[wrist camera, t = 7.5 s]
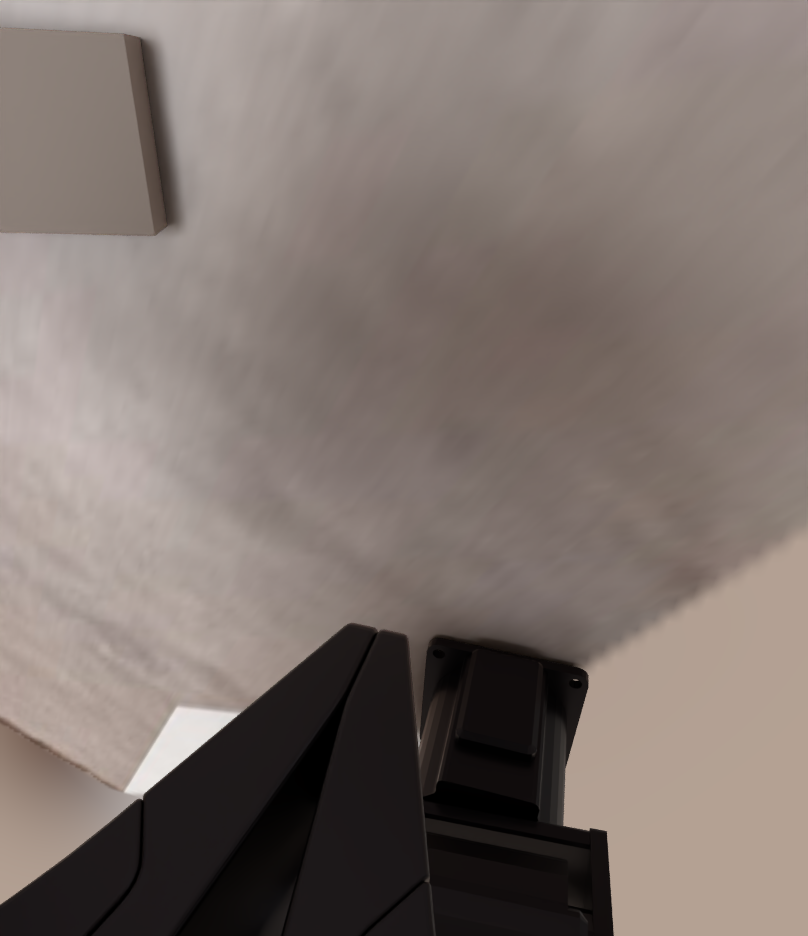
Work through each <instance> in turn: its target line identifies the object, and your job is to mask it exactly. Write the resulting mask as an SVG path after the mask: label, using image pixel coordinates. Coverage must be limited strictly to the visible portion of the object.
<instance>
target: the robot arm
mask: <svg viewBox="0 0 808 936" xmlns="http://www.w3.org/2000/svg"><path fill="white" fill-rule="evenodd" d="M437 649H439V650H442V651H438V650H437ZM573 679H577V680H579V681H574V680H573ZM587 690H588V674H587V672H586V671H584V670H583V669H581V668H578V667H573V666H568V665H564V664H559V663H554V662H550V661H545V660H540V659H536V658H531V657H527V656H522V655H517V654H513V653H508V652H503V651H499V650H494V649H489V648H485V647H480V646H475V645H471V644H466V643H461V642H457V641H452V640H447V639H443V638H435V639H432V640H431V641H430V643H429V646H428V649H427V656H426V668H425V680H424V692H423V704H422V716H421V728H420V739H421V742H420V746H419V750H418V740H417V729H416V718H415V707H414V696H413V684H412V673H411V662H410V651H409V641H408V637H407V635H405V634H402V633H398V632H393V631H388V630H380V631H379V632H378V631H377V629H376V628H374V627H370V626H365V625H361V624H356V623H350V624H347V625H346V626H344V627H343V628H342V629H341V630H340V631H338V632H337V633H336V634H335V635H334V636H332V637H331V638H330V639H329V640H328V641H326V642H325V643H324V644H323V645H322V646H320V647H319V648H318V649H317V650H316V651H314V652H313V653H312V654H311V655H310V656H308V657H307V658H306V659H305V660H304V661H302V662H301V663H300V664H299V665H298V666H296V667H295V668H294V669H293V670H292V671H290V672H289V673H288V674H287V675H286V676H284V677H283V678H282V679H281V680H280V681H278V682H277V683H276V684H275V685H274V686H273V687H271V688H270V689H269V690H268V691H267V692H265V693H264V694H263V695H262V696H261V697H259V698H258V699H257V700H256V701H255V702H253V703H252V704H251V705H250V706H249V707H247V708H246V709H245V710H244V711H243V712H241V713H240V714H239V715H238V716H237V717H235V718H234V719H233V720H232V721H231V722H229V723H228V724H227V725H226V726H225V727H223V728H222V729H221V730H220V731H219V732H217V733H216V734H215V735H214V736H213V737H211V738H210V739H209V740H208V741H207V742H206V743H204V744H203V745H202V746H201V747H200V748H198V749H197V750H196V751H195V752H194V753H192V754H191V755H190V756H189V757H188V758H186V759H185V760H184V761H183V762H182V763H180V764H179V765H178V766H177V767H176V768H174V769H173V770H172V771H171V772H170V773H168V774H167V775H166V776H165V777H164V778H162V779H161V780H160V781H159V782H158V783H156V784H155V785H154V786H153V787H152V788H150V789H149V790H148V791H147V792H146V793H145V794H144V796H143V800H142V799H137V800H136V801H134V802H133V803H132V804H131V805H130V806H129V807H127V808H126V809H125V810H124V811H123V812H121V813H120V814H119V815H118V816H117V817H115V818H114V819H113V820H112V821H111V822H109V823H108V824H107V825H106V826H104V827H103V828H102V829H101V830H100V831H98V832H97V833H96V834H94V835H93V836H92V837H91V838H89V839H88V840H87V841H86V842H84V843H83V844H82V845H81V846H79V847H78V848H77V849H76V850H74V851H73V852H72V853H71V854H69V855H68V856H67V857H65V858H64V859H63V860H61V861H60V862H59V863H57V864H56V865H55V866H53V867H52V868H51V869H49V870H48V871H46V872H45V873H44V874H42V875H41V876H40V877H38V878H37V879H36V880H34V881H33V882H31V883H30V884H28V885H27V886H26V887H24V888H23V889H22V890H20V891H19V892H18V893H16V894H15V895H13V896H12V897H11V898H9V899H8V900H6V901H5V902H3V903H2V904H1V905H0V936H614V935H613V918H612V904H611V888H610V873H609V859H608V843H607V831H603V830H598V829H592V828H590V831H587V830H582V829H576V828H570V827H566V826H563V815H564V788H565V768H566V764H567V761H568V758H569V754H570V750H571V747H572V743H573V739H574V736H575V732H576V728H577V725H578V722H579V718H580V715H581V711H582V707H583V704H584V701H585V697H586V693H587Z"/></svg>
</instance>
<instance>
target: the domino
mask: <svg viewBox="0 0 808 936" xmlns="http://www.w3.org/2000/svg"><path fill="white" fill-rule="evenodd" d="M166 226H167V221H166V214H165V207H164V200H163V193H162V186H161V179H160V172H159V165H158V158H157V152H156V145H155V138H154V131H153V124H152V117H151V110H150V103H149V96H148V89H147V83H146V76H145V69H144V62H143V55H142V48H141V41H140V37H135V36H131V35H126V34H116V33H96V32H77V31H57V30H38V29H18V28H0V232H5V233H49V234H93V235H137V236H155V235H157V234H158V233H159V232H160V231H161V230H163V229H164V228H165V227H166Z"/></svg>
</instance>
